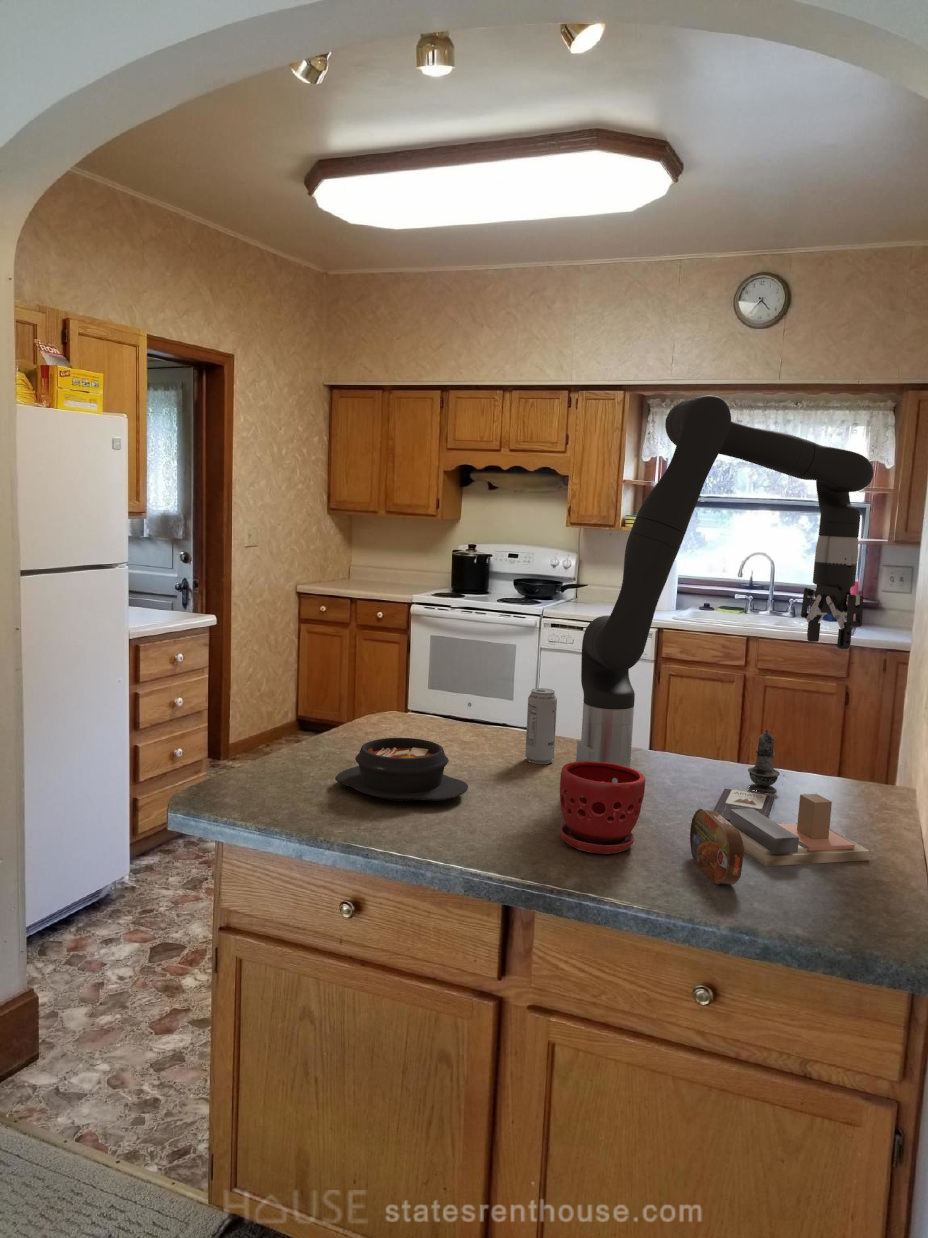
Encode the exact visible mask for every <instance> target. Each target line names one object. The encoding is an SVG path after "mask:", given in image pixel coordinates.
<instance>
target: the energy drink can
mask: <svg viewBox="0 0 928 1238" xmlns="http://www.w3.org/2000/svg"><path fill="white" fill-rule="evenodd" d="M555 693H556V692H555V690H553V689H550V688H543V687H542V688H541V687H540V688H538V687H537V688H532V689H531V693H530V694H529V695H528V697H527V712H526V714H527V715H526V718H527V719H526V732H525V734H526V736H525V737H526V738H525V754H524V755H525V757H526V758H527V762H529V761H530V762H529V763H531V762H532V763H531V764H534V763H536V764H535V765H547V764H551V763H552V760H553V759H554V758H555V746H556V745H555V744H556V730H557V729H556V726H557V711H558V710H557V708H558V698H557V696H556V694H555Z"/></svg>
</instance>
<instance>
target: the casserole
mask: <svg viewBox="0 0 928 1238" xmlns="http://www.w3.org/2000/svg"><path fill="white" fill-rule="evenodd" d="M354 759H355V762H356V763H357V764H358V765H357V766H353V767H349V768H346V769H345V770H342V771H341V772H339V773H338V774H337V775H335V781H336V782H338V783H339V784H342V785H345V786H348V787H350V788H353V789H354V790H356V791H358V792H360V793H363V794H365V795H368V796H372V797H375V798H377V799H381V800H388V801H393V802H395V801H396V802H411V801H419V800H421V801H434V802H435V801H436V802H437V801H439V802H440V801H446V800H452V799H454V798H456V797H459V796H461V795H464V794H466V792H468V789H469V785H468V783H467V782H465V781H463V780H461V779H458V778H454V777H451V776H448V775H446V774H444V771H445V767H446V766H447V765H449V761H450V760H449V758H448V757H447V755H446V754H445V751H444V748H443V746H442V745H440V744H439V743H436V742H434V741H430V740H426V739H423V738H421V739H420V738H414V737H412V738H411V737H387V738H379V739H374V740H370V741H367V742H365V743H363V745H361V747H360V750H359V752H358V754H357V755H356V756H355V758H354Z"/></svg>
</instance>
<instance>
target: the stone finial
mask: <svg viewBox="0 0 928 1238" xmlns="http://www.w3.org/2000/svg"><path fill="white" fill-rule="evenodd" d="M769 732H770V730H769V729H768V728H766V729H765V732H763V733H761V734H760V735H759V736H758V746H757V750H755V753H756V762H755V764H754V766H752V767H749V768H748V769H747V772H748V774H749V778H750V780H751V782H753V783H751V784H750V785H748V786H750V787H749V788H748V790H750V791H752V790H755V791H756V790H757V792H756V793H758V792H760V793H759V794H765V793H769V794H771V793H772V794H776V793H777V788H775V787H774V786H773V785H774V784H775V783H776V782H777V781H778V778H779V776H780V775H781V773H780V772H779V771H778V770H776V769H775V768H774V765H773V764H774V763H773V762H774V756H775V755H776V753H775V751H774V746H775V737H774V736H773V735H772V734H770V733H769ZM775 792H776V793H775ZM769 794H768V795H769ZM772 794H771V795H772Z"/></svg>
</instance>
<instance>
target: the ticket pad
mask: <svg viewBox="0 0 928 1238" xmlns="http://www.w3.org/2000/svg"><path fill="white" fill-rule="evenodd" d="M730 823H731V824H732V825H733V826H734V827H735V828H736V829H737V830H738V831H739V833H740V835H741V837H742V840H743V845H744V853H746V854H747V855H749V857H751V858H752V859H754V860H755V861H757V862H758V863H760V865H763V866H764V867H776V866H792V865H809V864H811V865H812V864H826V863H844V862H845V863H846V862H863V861H869V859H870V850H869V849H867V848H866V847H864V846H862V845H860V844H859V843H856V842H855V841H853V840H851V839H849V838H848V837H846V836H844V835H843V834H841V833H839V832H837V831H835V830H834V829H832V828H831V827H830V828H829V830H830V831H831V832H833V833H835V834H837V835H838V836H840V837H842V838H844V839H845V840H847V841H849V842H851V843H852V844H854V845H855V846H854V849H836V850H818V851H808V850H807V847H806V846H804V845H802V844H801V843H799V837H798V836H796V835H794V834H793V833H791V832H790V831H788V830H786V829H785V828H783V827H781V826H780V825H778V824H779V823H776V822H775V821H773V820H772V819H770V818H769V817H768V818H767V817H765V816H764V815H762V814H760V813H759V812H757V811H756V810H754V809H731V811H730Z"/></svg>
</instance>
